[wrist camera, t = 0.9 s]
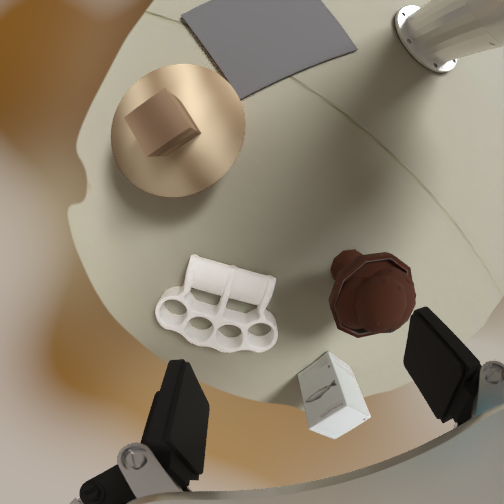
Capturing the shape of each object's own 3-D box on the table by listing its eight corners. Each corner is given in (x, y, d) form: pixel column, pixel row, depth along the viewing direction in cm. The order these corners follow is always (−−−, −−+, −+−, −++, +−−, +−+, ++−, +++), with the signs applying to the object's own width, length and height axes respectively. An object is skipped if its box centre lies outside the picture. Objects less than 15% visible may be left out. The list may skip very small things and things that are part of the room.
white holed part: (295, 279, 38) (262, 354, 43) (171, 244, 36) (156, 327, 41) (299, 290, 35) (264, 368, 40) (164, 252, 33) (150, 339, 38)
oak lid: (201, 43, 23) (190, 17, 16) (271, 150, 27) (279, 148, 21) (94, 118, 25) (62, 113, 19) (155, 221, 30) (133, 239, 23)
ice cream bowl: (304, 295, 39) (330, 366, 25) (326, 222, 35) (374, 265, 21) (365, 304, 40) (408, 366, 26) (390, 238, 36) (452, 282, 22)
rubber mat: (294, -26, 22) (294, -28, 22) (356, 50, 27) (357, 49, 26) (181, 16, 25) (180, 15, 24) (240, 99, 30) (240, 98, 29)
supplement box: (327, 349, 43) (348, 404, 31) (350, 366, 44) (372, 417, 33) (295, 373, 44) (307, 429, 32) (320, 388, 46) (335, 440, 34)
